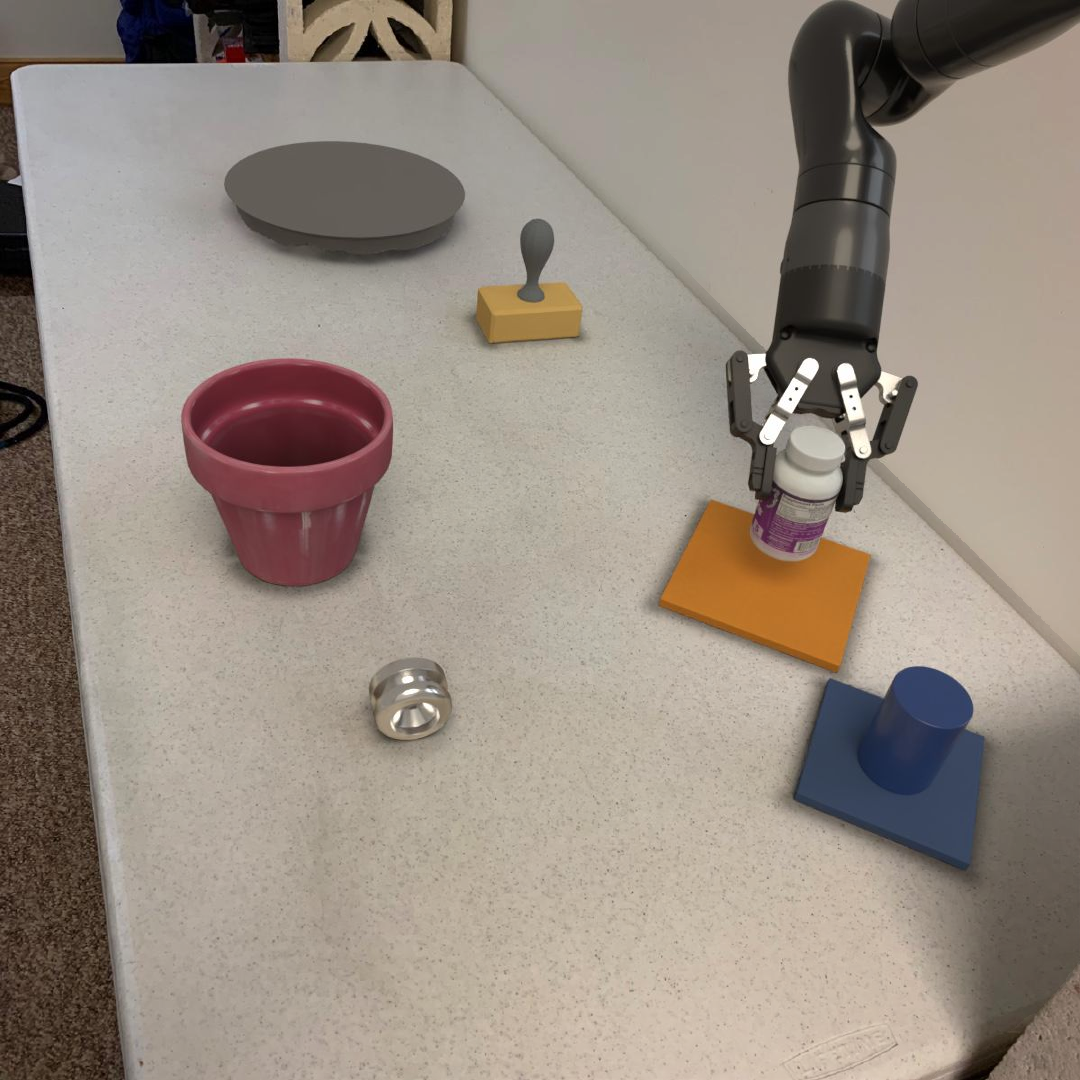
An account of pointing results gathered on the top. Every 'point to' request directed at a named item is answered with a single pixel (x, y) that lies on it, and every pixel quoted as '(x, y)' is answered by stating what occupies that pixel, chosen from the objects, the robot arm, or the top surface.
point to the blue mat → (849, 794)
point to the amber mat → (768, 589)
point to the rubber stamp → (530, 298)
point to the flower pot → (289, 462)
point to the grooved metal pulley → (410, 698)
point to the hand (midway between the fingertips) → (803, 504)
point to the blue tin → (914, 729)
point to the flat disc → (345, 196)
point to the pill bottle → (800, 495)
